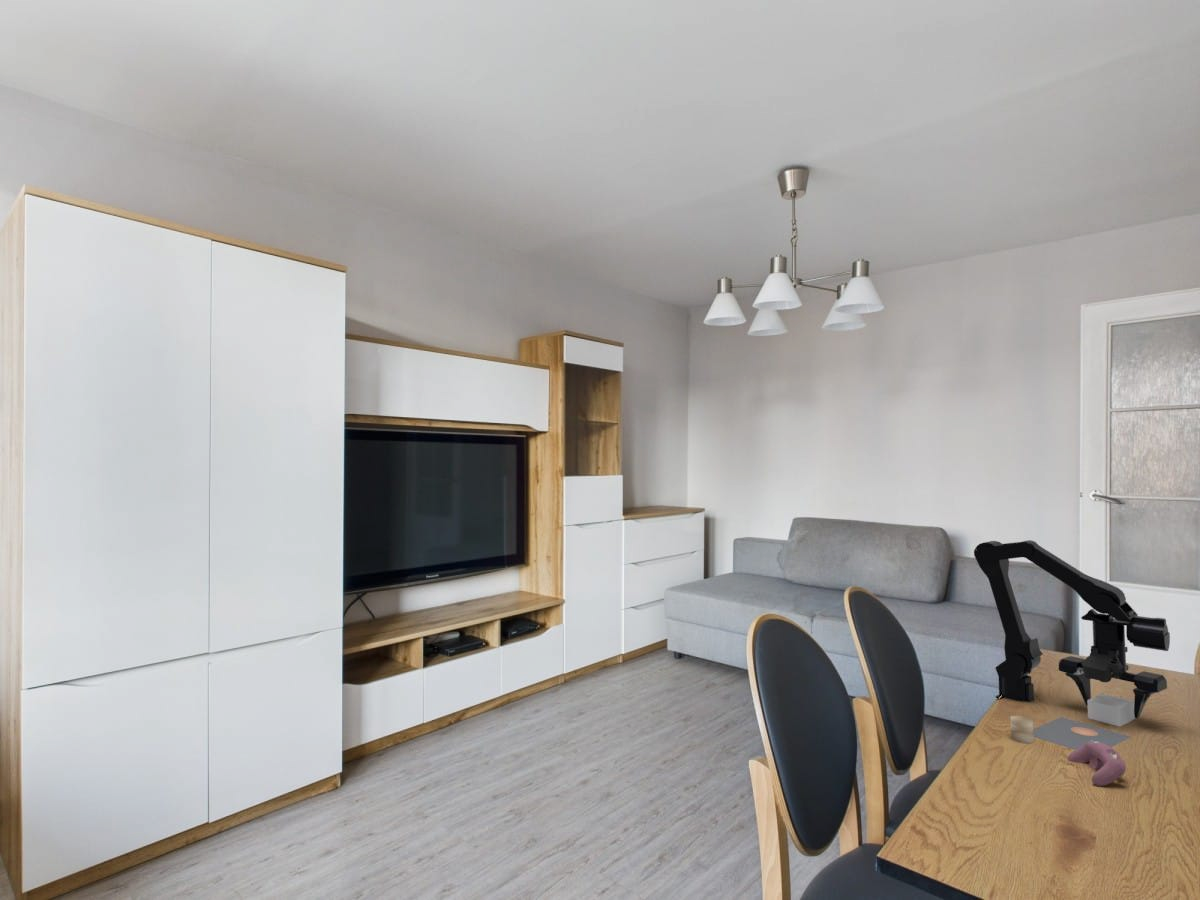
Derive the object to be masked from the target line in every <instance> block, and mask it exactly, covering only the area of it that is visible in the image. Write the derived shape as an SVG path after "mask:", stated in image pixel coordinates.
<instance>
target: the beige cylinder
mask: <svg viewBox="0 0 1200 900" xmlns="http://www.w3.org/2000/svg"><path fill="white" fill-rule="evenodd" d="M1033 729H1034V720H1033V719H1031V718H1030V717H1026V716H1022V715H1011V716H1010V737H1011V740H1013V741H1015V742H1017V743H1021V744H1033V743H1034V742H1035V739H1034V738H1035V737H1034V730H1033Z"/></svg>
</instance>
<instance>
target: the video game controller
mask: <svg viewBox="0 0 1200 900" xmlns="http://www.w3.org/2000/svg"><path fill="white" fill-rule="evenodd" d="M1067 761H1068V762H1070V765H1071V766H1073V764H1071V762H1072V763H1080V764H1086V763H1088V766H1089V767H1090V768H1091V769H1093V770H1095V772H1094V773H1093V775H1092V777H1091V782H1092V784H1094V785H1095V786H1096V787H1101V786H1107V785H1110V784H1112V783H1114V782H1115V781H1116V780H1117V779H1118V778H1120V777H1122V776H1123V775H1124V774H1125V772H1126V770H1127V769H1126V768H1127V764H1126V762H1125V760H1124V759H1123V758H1122V757H1121V755H1120V754H1119V752H1117V751H1116V750H1115V749H1114V747H1113V746H1112V747H1110V746H1108V745H1106V744H1104V743H1100V742H1094V741H1093V740H1090V742H1086V743H1085V744H1083V745H1082V746H1081V747H1080V748H1078V749H1077V750H1073V751H1072V752H1070V753H1069V754H1068V756H1067Z"/></svg>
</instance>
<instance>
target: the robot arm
mask: <svg viewBox="0 0 1200 900" xmlns="http://www.w3.org/2000/svg"><path fill="white" fill-rule="evenodd" d="M973 557H974V559H975V560H976V563H977V565H978V566H979V568H980V570H981V571H982V573H983V574H984V575H985V577H987V580H988V582H989V584H990V585H989V586H990V588H991V592H992V595H993V598H994V602H995V605H996V609H997V612H998V615H999V619H1000V621H1001V625H1002V629H1003V631H1004V647H1003V648H1004V657H1005V660H1003V661H1002V662H1000V663H999V664H997V666H996V667H995V671H996V674H997V676H998V694H997V695H995V698H996V699H998V698H999V697H1000V696H1001V695H1002V697H1001V698H1000V699H999V700H1003V699H1009V700H1013V701H1019V702H1027V703H1030V702H1032V701H1033V702H1034V701H1035V690H1034V689H1035V688H1034V686H1035V685H1034V683H1032V676H1030V674H1031V673H1032V671H1033V669H1035V668H1037V667H1038V666H1039V665H1040V663H1041V660H1042V658H1041V656H1043V654H1044V653H1043V652H1042V650H1041V649H1040V646H1039V644H1040V643H1039V640H1038V638H1037V637H1036V638H1031V637H1030V636H1029V634H1028V633H1027V632H1026V628H1025V626H1024V622H1023V620H1022V616H1021V613H1020V608H1019V606H1018V604H1017V603H1018V602H1017V600H1016V597H1015V593H1014V590H1013V587H1012V584H1011V581H1010V577H1009V569H1010V568H1009V566H1010V559H1017V558H1025V559H1027V560H1028V561H1030V562H1032V564H1035V565H1036V566H1037V567H1039V568H1041V569H1042V570H1043V571H1045V572H1047V574H1050V575H1051V576H1053V577H1055V578H1056V579H1057V580H1059V581H1061V582H1062V583H1064V584H1065V585H1067V586H1068V587H1070V588H1071V589H1073V590H1074V592H1075V593H1076V594H1078V596H1079V597H1080V598H1081V599H1082V600H1083V601H1084V602H1085V603H1086V604H1087V605H1088V606H1090V607H1091V609H1089V610H1088V611H1087V613H1086V614H1084V615H1082V616H1081V618H1080V619H1081V620H1083V621H1091V622H1092V641H1093V643H1092V644H1093V645H1091V646H1090V653H1089V655H1088V656H1087V657H1086V658H1082V657H1077V656H1072V655H1071V656H1070V655H1069V656H1066V657H1063V658H1060V660H1059V661H1058V671H1060V672H1061V673H1062V672H1063V673H1064V674H1065V676H1067V677H1068V678H1071V679H1072V681H1073V682H1074V683H1075V684H1076V687H1077V688H1078V690H1079V692H1080V695H1081V697H1082V700H1083V701H1084V703H1085V706H1087V707H1088V704H1087V700H1089V699H1091V698H1092V696H1091V695H1092V694H1091V680H1096V681H1099V682H1100V683H1109V682H1110V681H1111V680H1112V679H1116V680H1120V681H1124V682H1125V681H1126V682H1129V683H1133V685H1134V687H1135V688H1133V689H1132V692H1133V694H1134V700H1133V701H1134V716H1135V720H1136V719H1139V718H1140V716H1141V713H1142V711H1143V710H1144V708H1145V705H1146V703H1147V701H1148V700H1149V698H1150V697H1151V695H1153V694H1156V693H1160V692H1162V691H1164V690H1166V689H1168V682H1167V679H1166V677H1165V676H1164V675H1163V674H1158V673H1156V672H1155V673H1154V672H1149V671H1145V670H1144V671H1141V672H1139V673H1132V672H1127V671H1129V664H1127V659H1126V657H1127V656H1126V653H1127V652H1129V651H1128V646H1126V640H1127V641H1129V643H1130V644H1132V645H1133V647H1138V648H1144V649H1145V648H1146V649H1151V650H1156V651H1157V650H1158V651H1163V652H1169V649H1170V644H1171V643H1170V642H1171V641H1170V640H1171V637H1170V634H1171V633H1170V632H1169V628H1168V624H1167V619H1166V618H1163V617H1149V616H1148V617H1147V616H1139V615H1138V613H1137V612H1136V611H1135V610H1134V609H1133V607H1132V606H1131V605H1130V604H1129V603H1128V602H1127V600H1126V596H1125V593H1124V591H1123V590H1121V588H1119V587H1117V586H1115V585H1113V584H1110V583H1109V582H1106V581H1104V580H1101V579H1098V578H1095V577H1093V576H1089V575H1087V574H1086V573H1084V572H1082V571H1081V570H1079V569H1077V567H1076V568H1075V566H1072V565H1071V564H1070V563H1068V562H1066V561H1065V560H1063V559H1061V558H1059V557H1058V556H1057V555H1055V554H1053V552H1050V551H1048V550H1047V549H1045V548H1044V547H1042V546H1040V545H1039V544H1038V542H1036V541H1034V540H1032V539H1031V540H1030V539H1028V540H1024V541H1023V540H1022V541H1018V542H1007V543H1002V542H1000V541H996V540H989V541H985V542H981V543H979V544H978V545H976V546H975V549H974V550H973ZM1125 626H1126V631H1125ZM1125 633H1126V634H1125ZM1125 635H1126V636H1125Z"/></svg>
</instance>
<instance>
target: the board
mask: <svg viewBox="0 0 1200 900" xmlns="http://www.w3.org/2000/svg"><path fill="white" fill-rule="evenodd" d="M1033 730H1034V738H1037V739H1040V740H1043V741H1045V742H1049V743H1051V744H1055V745H1058V746H1062V747H1066V748H1068V749H1072V750H1073V751H1075V750H1077V749H1078V748H1080V747H1081V746H1082V745H1083V744H1085V743H1086V742H1090V740H1093V741H1094V742H1100V743H1104V744H1106V745H1108V746H1110V747H1112V748H1113V747H1114V746H1116V745H1118V744H1119V743H1122V742H1124V741H1126V740H1127V739H1130V738H1131V737H1132V736H1130V735H1126V734H1123V733H1119V732H1117V731H1116V732H1115V731H1112V730H1110V729H1105V728H1101V727H1098V726H1094V725H1090V724H1087V723H1084V722H1080V721H1077V720H1074V719H1069V718H1066V717H1063V716H1060V717H1058V718H1056V719H1054V720H1052V721H1049V722H1046V723H1044V724H1042V725H1040V726H1037V727H1033Z"/></svg>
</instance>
